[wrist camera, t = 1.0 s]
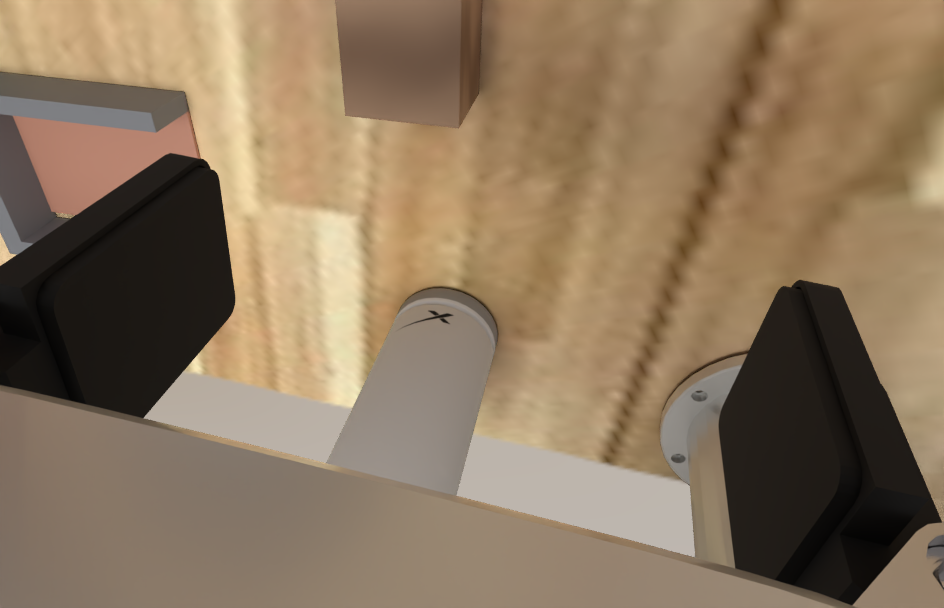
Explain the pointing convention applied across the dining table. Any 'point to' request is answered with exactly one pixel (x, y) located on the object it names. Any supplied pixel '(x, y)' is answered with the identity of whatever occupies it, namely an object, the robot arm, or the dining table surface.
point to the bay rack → (77, 146)
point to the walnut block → (410, 59)
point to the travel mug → (422, 393)
